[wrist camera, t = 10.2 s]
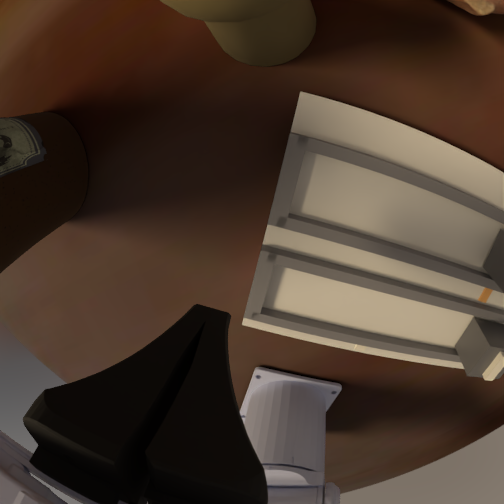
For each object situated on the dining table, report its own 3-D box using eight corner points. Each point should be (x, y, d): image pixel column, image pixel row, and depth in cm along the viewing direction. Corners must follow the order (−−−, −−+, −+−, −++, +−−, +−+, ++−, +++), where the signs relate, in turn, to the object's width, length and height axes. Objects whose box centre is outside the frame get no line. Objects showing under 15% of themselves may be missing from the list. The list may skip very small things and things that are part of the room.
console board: (497, 364, 22) (503, 378, 21) (244, 314, 24) (239, 331, 22) (577, 223, 15) (590, 232, 13) (300, 92, 16) (300, 90, 14)
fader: (485, 351, 20) (501, 384, 17) (454, 345, 20) (469, 381, 17) (503, 324, 19) (523, 356, 15) (473, 316, 19) (492, 351, 15)
